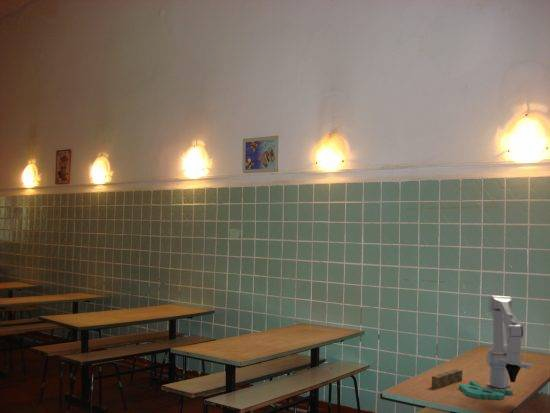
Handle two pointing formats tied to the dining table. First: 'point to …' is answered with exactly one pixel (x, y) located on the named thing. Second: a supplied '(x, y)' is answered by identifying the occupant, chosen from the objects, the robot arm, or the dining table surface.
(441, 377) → the walnut board
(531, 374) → the dining table surface
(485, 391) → the alien figure
